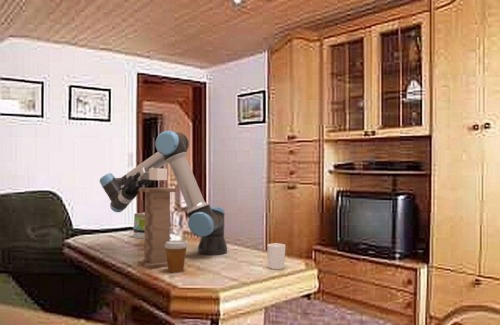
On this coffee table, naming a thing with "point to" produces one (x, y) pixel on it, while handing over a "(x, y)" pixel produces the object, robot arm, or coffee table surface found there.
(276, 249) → the white cup
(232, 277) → the coffee table surface
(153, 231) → the walnut stand
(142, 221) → the tea box
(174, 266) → the disposable coffee cup
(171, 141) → the robot arm
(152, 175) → the block
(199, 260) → the coffee table surface
